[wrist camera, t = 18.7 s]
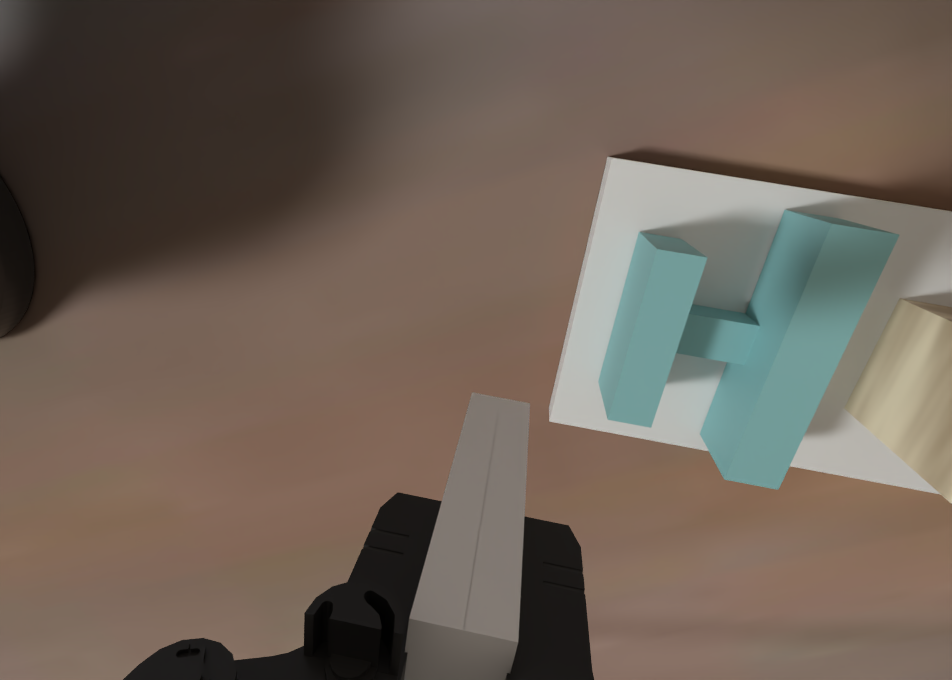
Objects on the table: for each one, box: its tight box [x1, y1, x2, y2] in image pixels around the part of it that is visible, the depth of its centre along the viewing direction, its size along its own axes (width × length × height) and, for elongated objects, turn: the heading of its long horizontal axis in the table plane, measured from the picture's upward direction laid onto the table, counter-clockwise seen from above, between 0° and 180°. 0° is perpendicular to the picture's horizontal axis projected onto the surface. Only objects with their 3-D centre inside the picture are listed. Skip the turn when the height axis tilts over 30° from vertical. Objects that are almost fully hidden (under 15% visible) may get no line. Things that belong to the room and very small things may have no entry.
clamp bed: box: [549, 157, 952, 494], centre depth 23 cm, size 25×14×6 cm, turn 82°
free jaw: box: [598, 210, 899, 489], centre depth 23 cm, size 8×12×4 cm
